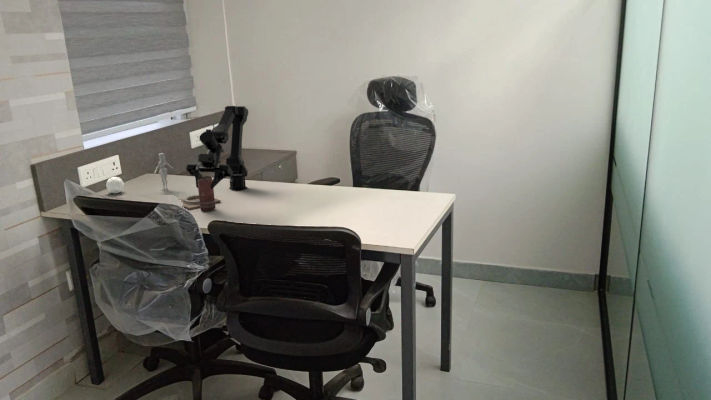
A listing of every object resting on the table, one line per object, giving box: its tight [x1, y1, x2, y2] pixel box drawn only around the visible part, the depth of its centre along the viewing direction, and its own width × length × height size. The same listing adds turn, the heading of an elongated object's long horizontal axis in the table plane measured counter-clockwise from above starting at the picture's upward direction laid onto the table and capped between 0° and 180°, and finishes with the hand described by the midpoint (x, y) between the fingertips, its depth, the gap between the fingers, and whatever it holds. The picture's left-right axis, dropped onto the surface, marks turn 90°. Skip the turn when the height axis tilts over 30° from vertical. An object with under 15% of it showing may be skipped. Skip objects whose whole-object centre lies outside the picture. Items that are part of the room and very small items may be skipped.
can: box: [197, 176, 216, 213], centre depth 234 cm, size 6×6×14 cm
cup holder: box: [179, 194, 221, 211], centre depth 247 cm, size 15×15×2 cm
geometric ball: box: [105, 176, 125, 194], centre depth 264 cm, size 8×8×8 cm
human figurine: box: [153, 152, 174, 192], centre depth 265 cm, size 12×4×18 cm, turn 152°
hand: (204, 187), depth 232 cm, fingers closed on can, 6 cm apart
